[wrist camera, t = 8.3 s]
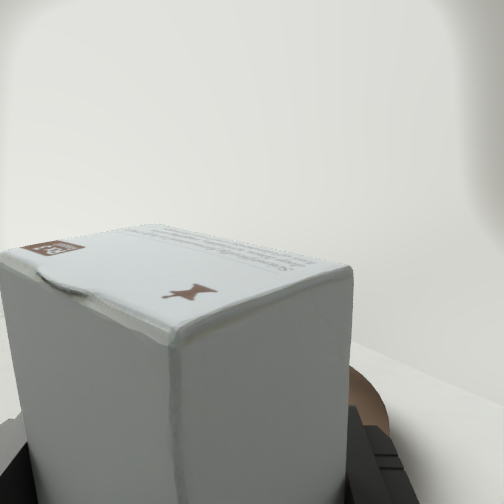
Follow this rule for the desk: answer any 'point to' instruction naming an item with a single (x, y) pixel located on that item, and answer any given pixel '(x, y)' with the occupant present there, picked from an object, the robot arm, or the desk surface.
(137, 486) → the skincare box
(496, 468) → the desk surface
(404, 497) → the robot arm
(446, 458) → the desk surface
